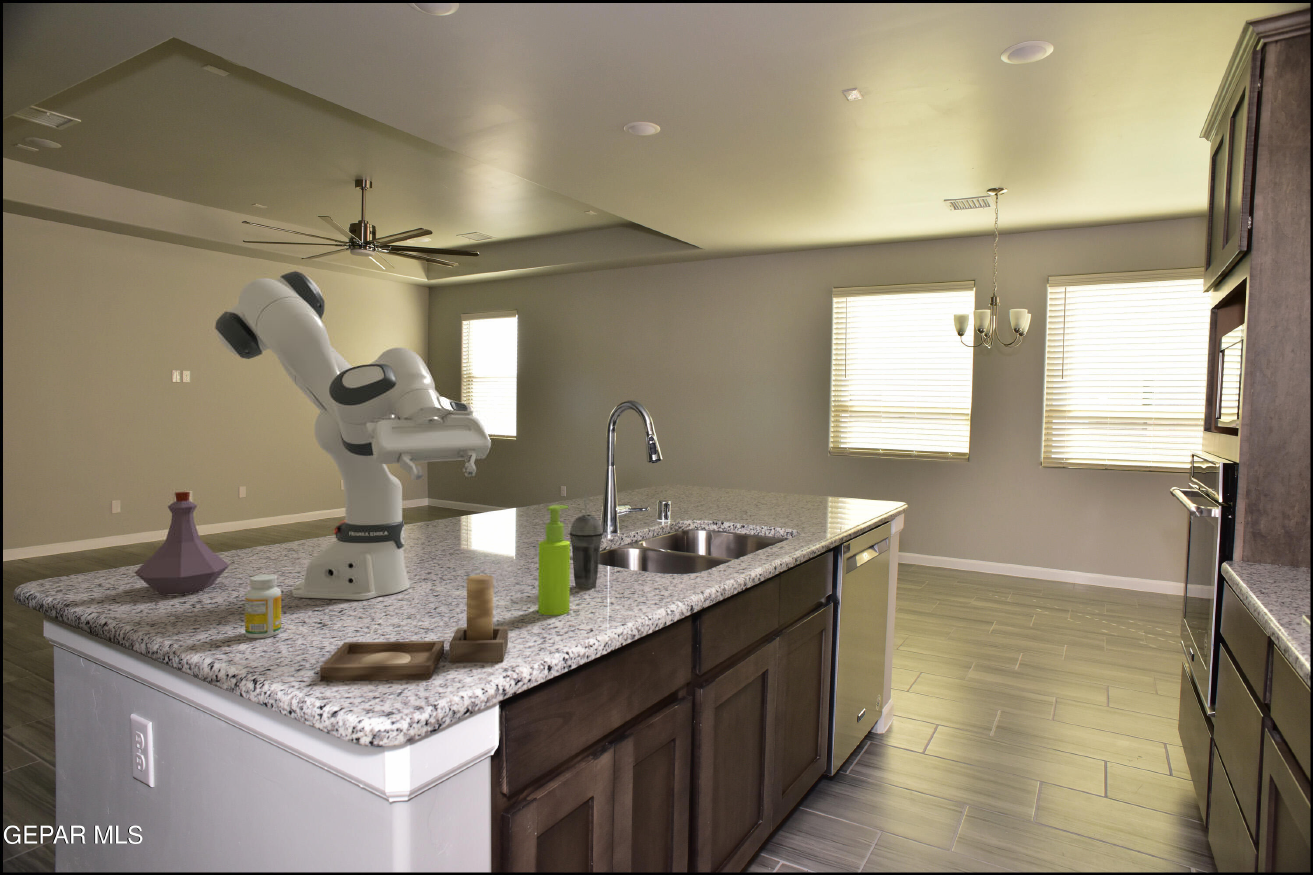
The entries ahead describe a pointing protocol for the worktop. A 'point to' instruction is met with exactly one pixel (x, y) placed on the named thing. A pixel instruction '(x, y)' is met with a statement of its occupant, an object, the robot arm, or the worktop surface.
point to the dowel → (480, 607)
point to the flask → (182, 555)
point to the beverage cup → (585, 549)
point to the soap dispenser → (554, 567)
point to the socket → (478, 647)
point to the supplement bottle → (263, 607)
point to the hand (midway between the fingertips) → (445, 475)
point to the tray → (383, 661)
